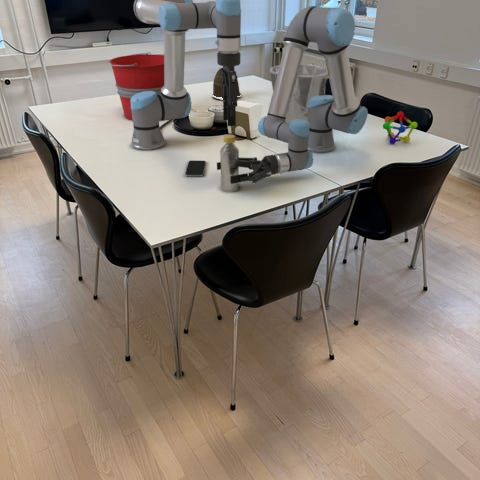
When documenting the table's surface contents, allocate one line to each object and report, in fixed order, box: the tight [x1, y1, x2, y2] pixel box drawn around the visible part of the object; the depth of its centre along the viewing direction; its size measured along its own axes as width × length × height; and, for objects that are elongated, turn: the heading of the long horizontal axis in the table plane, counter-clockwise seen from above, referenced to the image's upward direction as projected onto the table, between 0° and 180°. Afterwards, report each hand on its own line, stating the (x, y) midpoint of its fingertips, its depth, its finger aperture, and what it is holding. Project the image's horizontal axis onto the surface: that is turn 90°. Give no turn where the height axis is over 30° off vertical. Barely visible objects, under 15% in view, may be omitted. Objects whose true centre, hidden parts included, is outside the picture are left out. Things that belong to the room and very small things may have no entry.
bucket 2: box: [269, 63, 329, 123], centre depth 226 cm, size 30×30×28 cm
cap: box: [223, 134, 236, 144], centre depth 157 cm, size 4×4×2 cm
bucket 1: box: [106, 51, 164, 121], centre depth 240 cm, size 35×35×30 cm
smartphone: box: [184, 160, 207, 177], centre depth 182 cm, size 7×1×15 cm
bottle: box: [219, 143, 240, 193], centre depth 162 cm, size 7×7×20 cm
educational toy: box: [382, 110, 418, 145], centre depth 207 cm, size 16×13×15 cm
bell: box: [212, 66, 242, 97], centre depth 278 cm, size 19×26×20 cm
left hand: (229, 122), depth 154 cm, fingers open, 6 cm apart
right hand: (223, 172), depth 163 cm, fingers open, 13 cm apart
